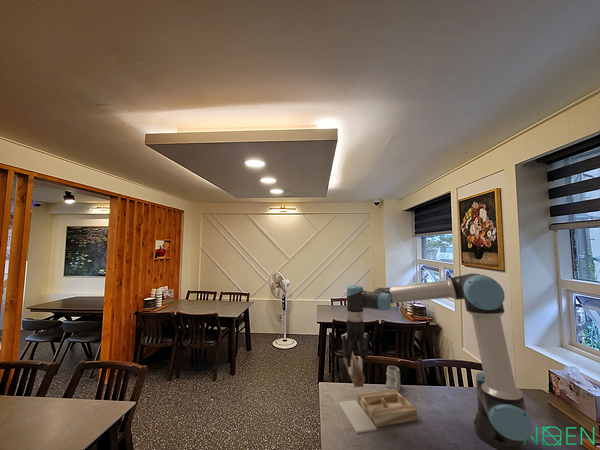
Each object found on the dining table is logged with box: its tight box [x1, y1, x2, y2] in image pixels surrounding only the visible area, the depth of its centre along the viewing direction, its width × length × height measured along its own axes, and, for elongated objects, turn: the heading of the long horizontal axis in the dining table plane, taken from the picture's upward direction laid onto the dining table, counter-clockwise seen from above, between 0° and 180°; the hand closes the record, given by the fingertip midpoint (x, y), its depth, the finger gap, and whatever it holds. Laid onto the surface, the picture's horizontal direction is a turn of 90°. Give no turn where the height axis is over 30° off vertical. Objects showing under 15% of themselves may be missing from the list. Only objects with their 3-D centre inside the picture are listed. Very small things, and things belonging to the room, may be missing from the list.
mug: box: [385, 365, 402, 393], centre depth 128 cm, size 8×12×12 cm, turn 175°
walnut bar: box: [343, 351, 366, 388], centre depth 110 cm, size 4×14×5 cm, turn 13°
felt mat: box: [338, 399, 378, 434], centre depth 106 cm, size 19×9×1 cm, turn 13°
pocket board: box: [357, 389, 418, 428], centre depth 110 cm, size 16×20×4 cm
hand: (355, 373), depth 108 cm, fingers closed on walnut bar, 4 cm apart
